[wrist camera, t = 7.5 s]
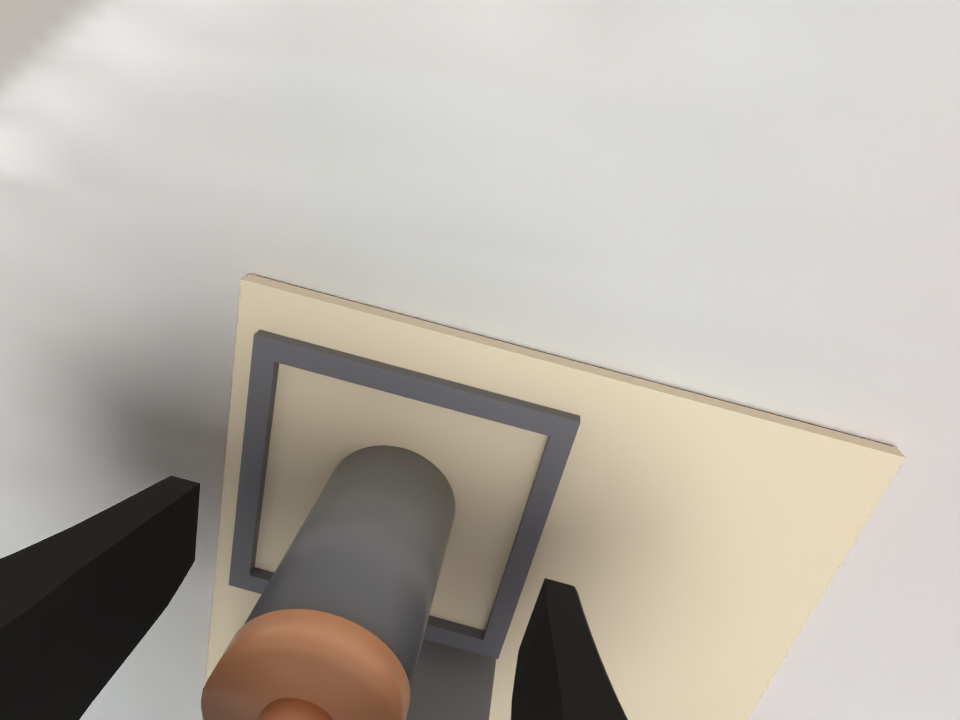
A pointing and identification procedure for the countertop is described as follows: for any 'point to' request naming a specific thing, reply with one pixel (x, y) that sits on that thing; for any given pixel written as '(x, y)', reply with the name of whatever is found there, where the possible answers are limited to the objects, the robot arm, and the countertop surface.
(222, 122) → the countertop surface
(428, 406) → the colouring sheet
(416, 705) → the button housing
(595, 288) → the countertop surface
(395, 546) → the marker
